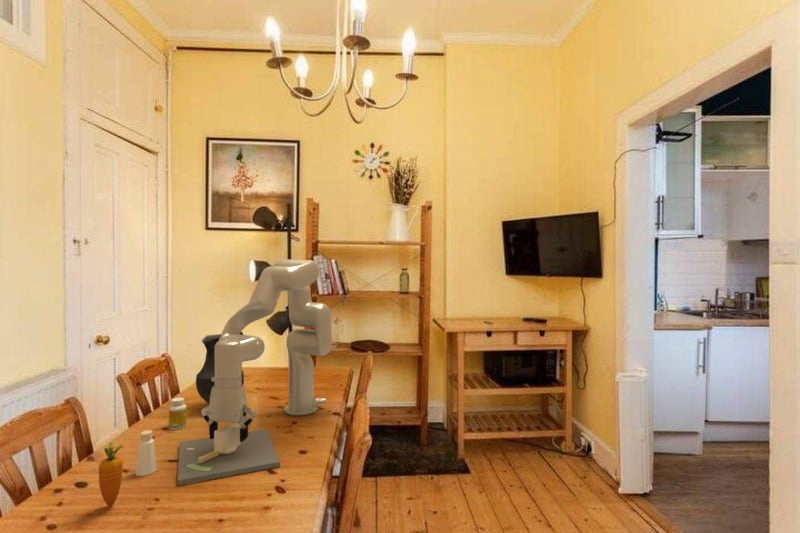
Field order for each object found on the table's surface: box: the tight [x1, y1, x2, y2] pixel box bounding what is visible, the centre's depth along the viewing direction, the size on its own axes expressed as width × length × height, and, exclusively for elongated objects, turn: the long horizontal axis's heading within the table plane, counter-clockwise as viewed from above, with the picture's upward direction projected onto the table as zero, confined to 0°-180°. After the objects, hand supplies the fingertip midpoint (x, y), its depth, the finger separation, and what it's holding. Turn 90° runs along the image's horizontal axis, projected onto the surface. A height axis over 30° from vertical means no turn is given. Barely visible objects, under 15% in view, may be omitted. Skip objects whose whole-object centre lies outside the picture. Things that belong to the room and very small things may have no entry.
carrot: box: [98, 442, 124, 507], centre depth 104 cm, size 5×5×15 cm
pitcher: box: [195, 331, 245, 405], centre depth 174 cm, size 17×21×30 cm
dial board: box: [176, 429, 281, 486], centre depth 131 cm, size 26×26×2 cm
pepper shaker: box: [134, 429, 158, 477], centre depth 121 cm, size 5×5×11 cm
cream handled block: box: [198, 423, 242, 463], centre depth 128 cm, size 13×5×7 cm, turn 151°
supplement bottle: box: [168, 397, 187, 431], centre depth 153 cm, size 5×5×10 cm
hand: (228, 438), depth 131 cm, fingers open, 9 cm apart
